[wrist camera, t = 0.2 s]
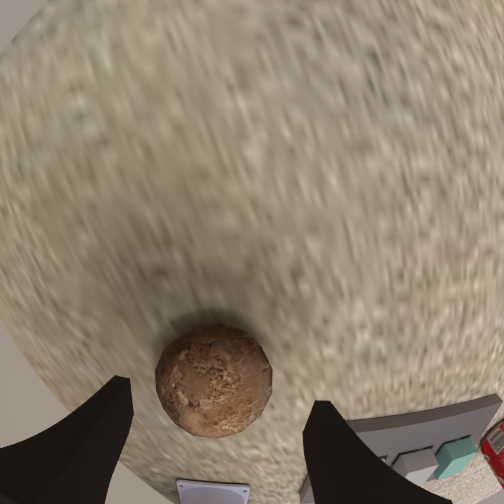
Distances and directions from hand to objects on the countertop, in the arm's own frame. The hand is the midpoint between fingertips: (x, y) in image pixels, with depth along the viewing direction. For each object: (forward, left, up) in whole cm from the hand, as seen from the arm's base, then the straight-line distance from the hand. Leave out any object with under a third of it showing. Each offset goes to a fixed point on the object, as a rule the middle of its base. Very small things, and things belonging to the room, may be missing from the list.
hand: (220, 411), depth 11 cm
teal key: (-19, -26, -8) cm, 33 cm away
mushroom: (-5, +1, -10) cm, 11 cm away
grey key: (-19, -20, -8) cm, 29 cm away
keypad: (-19, -20, -10) cm, 29 cm away
